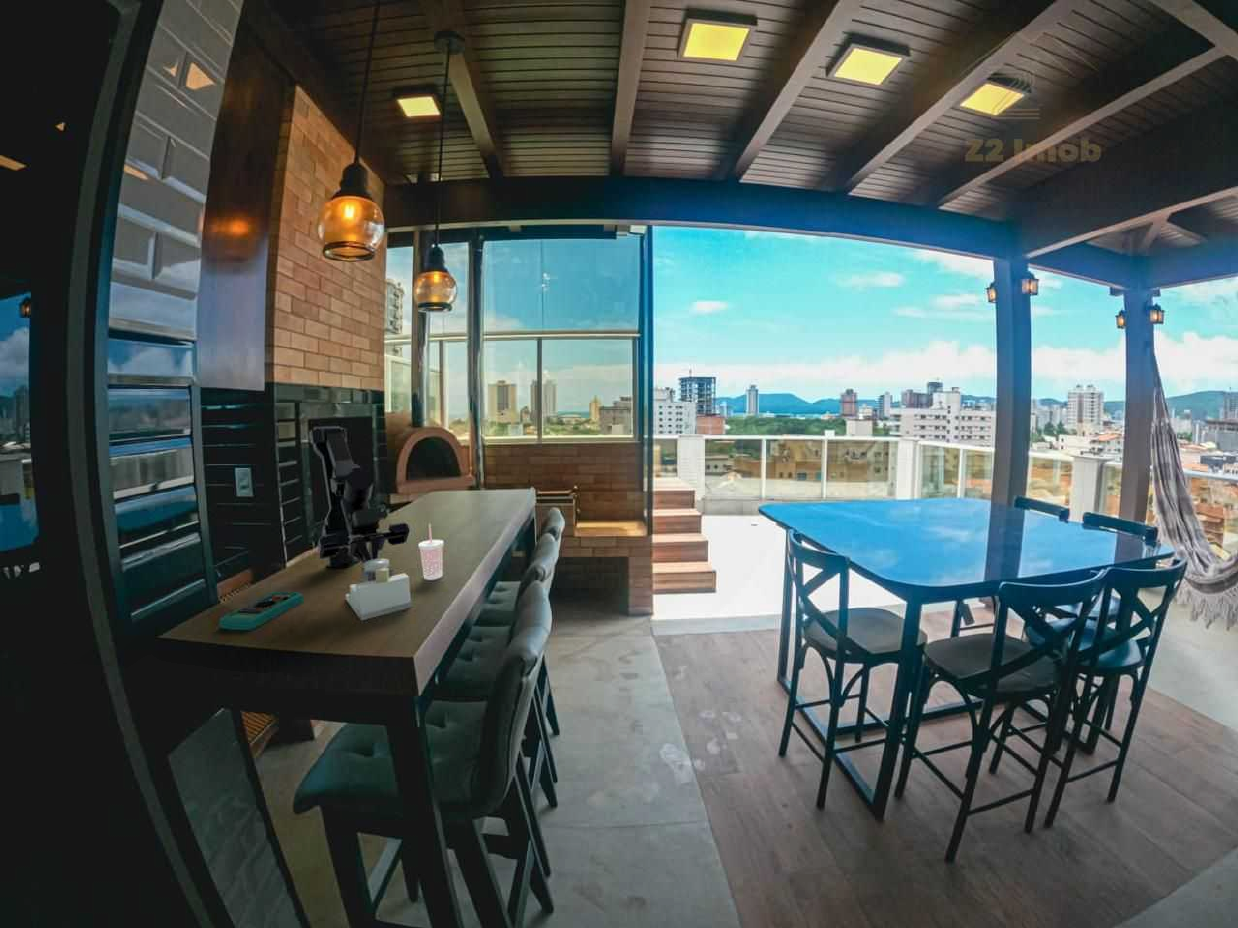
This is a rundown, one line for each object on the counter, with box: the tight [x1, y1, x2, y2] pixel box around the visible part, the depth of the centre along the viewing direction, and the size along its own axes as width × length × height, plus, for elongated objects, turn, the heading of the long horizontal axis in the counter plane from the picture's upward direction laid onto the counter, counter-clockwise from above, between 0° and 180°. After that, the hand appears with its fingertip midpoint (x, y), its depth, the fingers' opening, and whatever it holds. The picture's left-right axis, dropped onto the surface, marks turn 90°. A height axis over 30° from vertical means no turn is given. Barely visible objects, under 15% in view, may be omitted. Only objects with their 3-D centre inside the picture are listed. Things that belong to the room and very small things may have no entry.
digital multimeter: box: [219, 590, 304, 631], centre depth 106 cm, size 7×15×3 cm, turn 173°
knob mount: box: [345, 568, 412, 621], centre depth 111 cm, size 14×10×9 cm
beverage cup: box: [418, 523, 444, 581], centre depth 127 cm, size 6×6×14 cm
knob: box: [361, 557, 394, 583], centre depth 109 cm, size 5×5×9 cm
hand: (374, 570), depth 111 cm, fingers closed, pressing on knob
